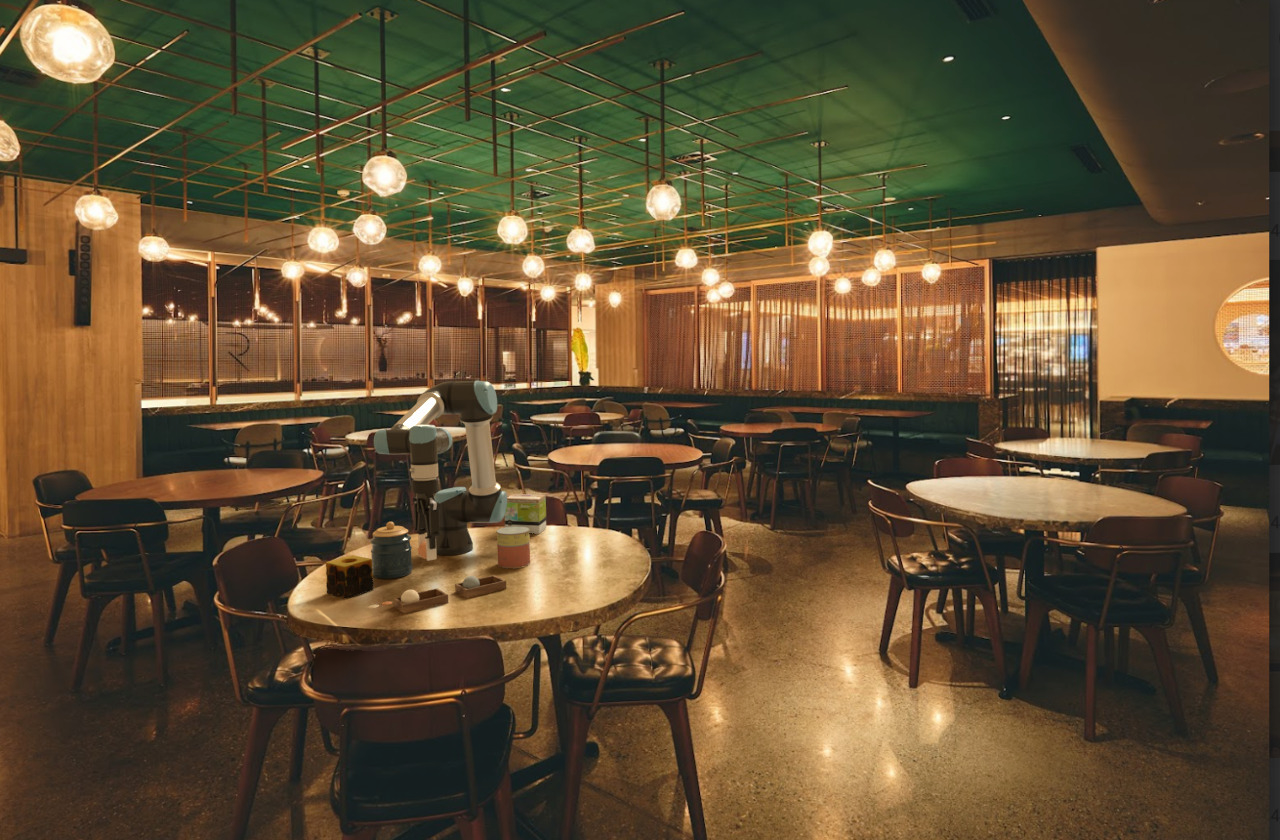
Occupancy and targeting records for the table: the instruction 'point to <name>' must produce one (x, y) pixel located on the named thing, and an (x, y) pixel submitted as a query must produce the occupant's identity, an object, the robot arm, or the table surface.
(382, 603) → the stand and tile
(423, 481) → the robot arm
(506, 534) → the canned food
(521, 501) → the tea box
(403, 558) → the canister
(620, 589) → the table surface
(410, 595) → the ball cream
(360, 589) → the brown block
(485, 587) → the trough
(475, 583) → the ball slate
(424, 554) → the ball terracotta
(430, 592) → the trough
